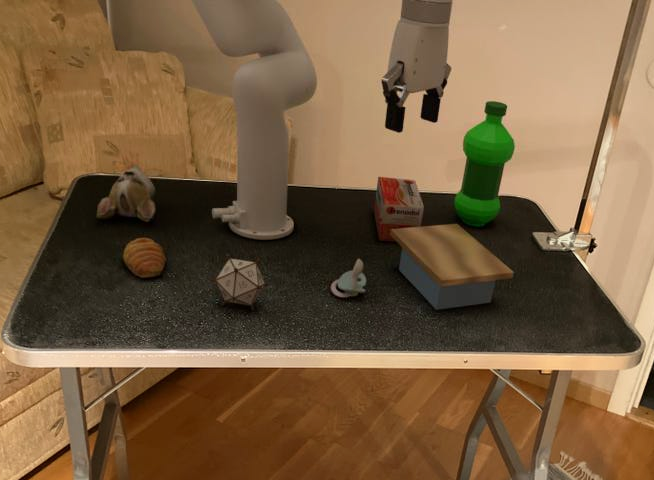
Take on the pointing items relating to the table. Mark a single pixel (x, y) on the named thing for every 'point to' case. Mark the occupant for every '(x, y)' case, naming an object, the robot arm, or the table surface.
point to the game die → (240, 281)
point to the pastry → (144, 257)
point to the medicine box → (397, 206)
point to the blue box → (444, 287)
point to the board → (450, 254)
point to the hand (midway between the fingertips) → (411, 125)
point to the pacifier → (350, 282)
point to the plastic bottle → (484, 167)
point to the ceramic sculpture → (129, 197)
